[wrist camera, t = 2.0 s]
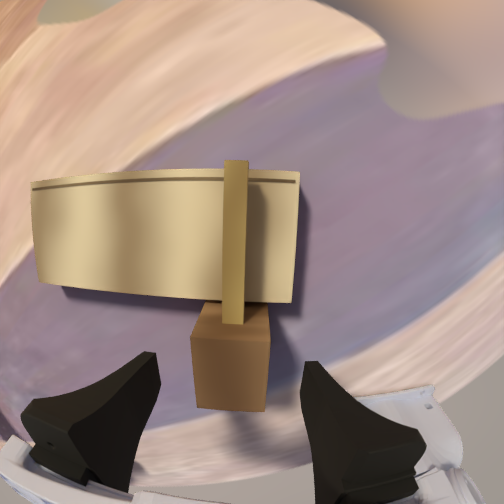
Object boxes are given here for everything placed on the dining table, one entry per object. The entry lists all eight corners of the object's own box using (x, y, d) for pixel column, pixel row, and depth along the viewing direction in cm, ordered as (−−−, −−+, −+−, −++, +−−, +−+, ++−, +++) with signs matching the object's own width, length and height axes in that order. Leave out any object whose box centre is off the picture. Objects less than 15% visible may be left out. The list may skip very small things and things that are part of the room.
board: (294, 173, 15) (299, 171, 13) (287, 289, 17) (291, 303, 15) (48, 181, 15) (30, 182, 13) (54, 273, 17) (38, 282, 15)
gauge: (272, 168, 15) (281, 158, 10) (262, 355, 18) (264, 412, 13) (210, 166, 15) (187, 156, 10) (211, 352, 18) (196, 407, 13)
